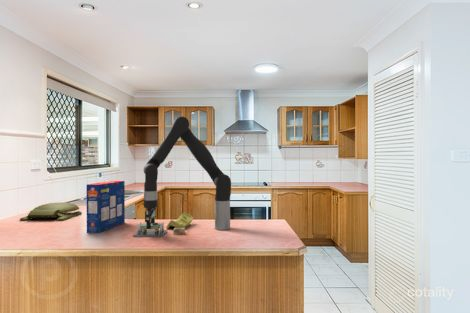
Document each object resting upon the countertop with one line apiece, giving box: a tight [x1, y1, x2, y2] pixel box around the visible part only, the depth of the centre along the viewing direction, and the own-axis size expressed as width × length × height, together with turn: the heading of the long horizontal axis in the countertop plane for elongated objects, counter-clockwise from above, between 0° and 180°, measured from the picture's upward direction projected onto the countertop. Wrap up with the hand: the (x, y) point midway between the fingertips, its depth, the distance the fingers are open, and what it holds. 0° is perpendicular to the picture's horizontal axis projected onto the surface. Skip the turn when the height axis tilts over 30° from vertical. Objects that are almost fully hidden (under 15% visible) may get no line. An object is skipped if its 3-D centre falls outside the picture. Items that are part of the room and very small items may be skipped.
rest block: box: [172, 227, 186, 236], centre depth 185 cm, size 6×4×3 cm, turn 89°
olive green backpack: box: [19, 202, 83, 222], centre depth 239 cm, size 35×31×10 cm
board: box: [140, 222, 162, 230], centre depth 184 cm, size 10×6×3 cm, turn 89°
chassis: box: [132, 222, 168, 238], centre depth 184 cm, size 16×12×6 cm
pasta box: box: [86, 180, 126, 234], centre depth 202 cm, size 28×8×28 cm, turn 169°
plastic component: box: [166, 211, 194, 230], centre depth 205 cm, size 20×7×10 cm
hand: (150, 227), depth 184 cm, fingers open, 8 cm apart
